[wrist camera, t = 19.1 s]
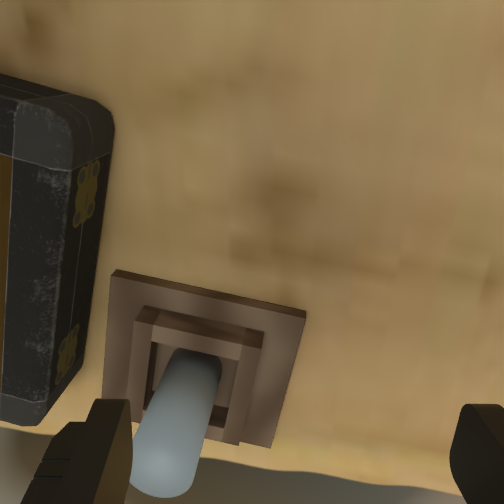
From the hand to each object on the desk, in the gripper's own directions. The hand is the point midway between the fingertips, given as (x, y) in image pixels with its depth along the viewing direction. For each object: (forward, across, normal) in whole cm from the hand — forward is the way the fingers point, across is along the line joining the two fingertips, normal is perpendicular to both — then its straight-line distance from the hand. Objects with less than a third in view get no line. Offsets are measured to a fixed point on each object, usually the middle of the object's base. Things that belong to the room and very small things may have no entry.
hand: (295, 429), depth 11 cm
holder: (+26, +4, +16) cm, 31 cm away
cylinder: (+25, +4, +16) cm, 30 cm away
